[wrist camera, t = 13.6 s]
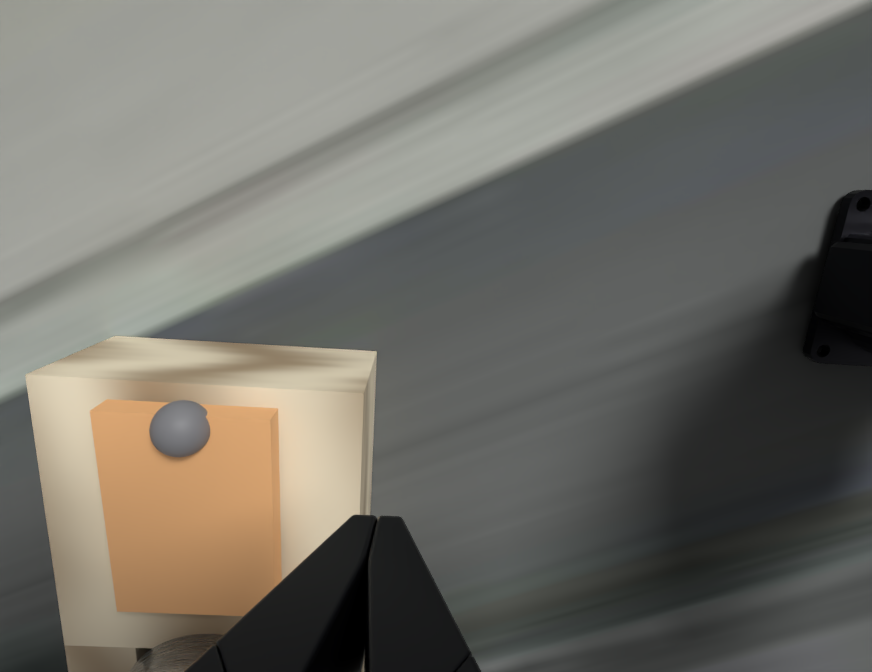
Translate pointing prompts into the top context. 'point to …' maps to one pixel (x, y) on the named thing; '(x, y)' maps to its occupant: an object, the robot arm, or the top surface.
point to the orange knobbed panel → (189, 504)
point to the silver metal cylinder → (175, 653)
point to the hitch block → (204, 384)
